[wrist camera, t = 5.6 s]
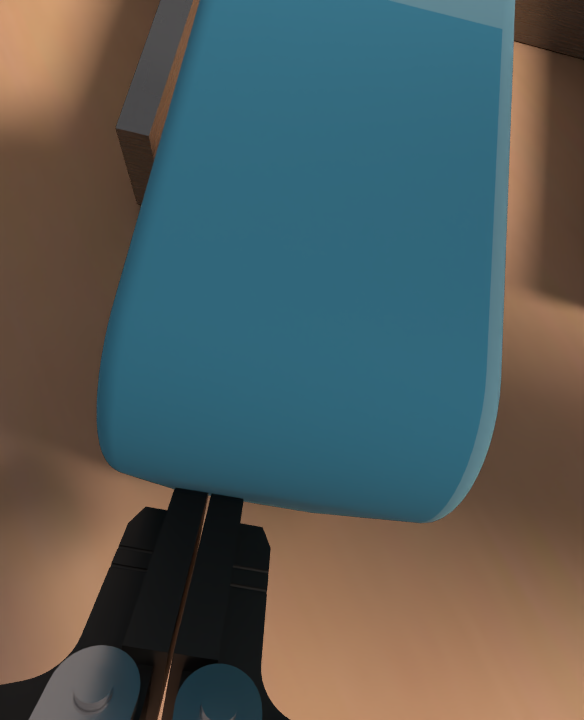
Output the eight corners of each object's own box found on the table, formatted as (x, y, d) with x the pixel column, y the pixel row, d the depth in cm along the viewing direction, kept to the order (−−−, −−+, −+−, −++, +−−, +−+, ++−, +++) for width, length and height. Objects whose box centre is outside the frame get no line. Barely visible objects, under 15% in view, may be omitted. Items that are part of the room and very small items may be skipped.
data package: (243, 178, 20) (271, -268, 8) (355, 203, 20) (529, -194, 9) (174, 490, 16) (61, 457, 5) (311, 513, 17) (505, 533, 5)
